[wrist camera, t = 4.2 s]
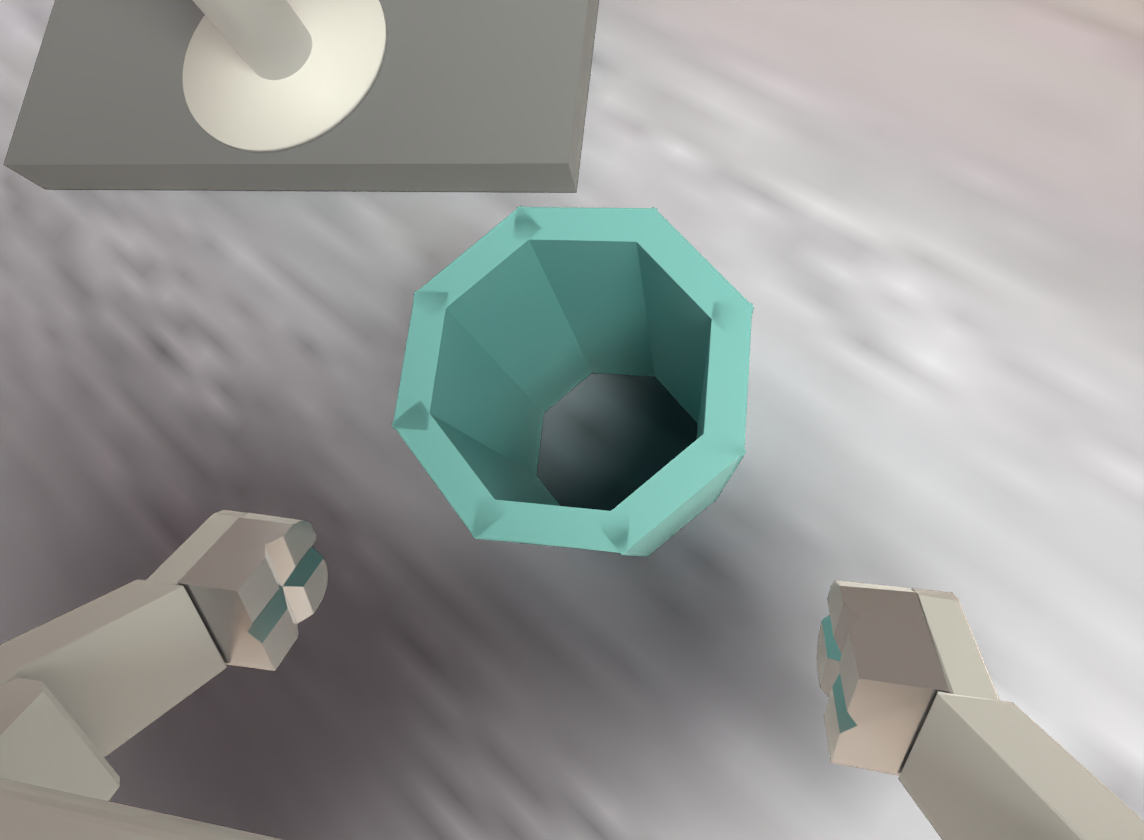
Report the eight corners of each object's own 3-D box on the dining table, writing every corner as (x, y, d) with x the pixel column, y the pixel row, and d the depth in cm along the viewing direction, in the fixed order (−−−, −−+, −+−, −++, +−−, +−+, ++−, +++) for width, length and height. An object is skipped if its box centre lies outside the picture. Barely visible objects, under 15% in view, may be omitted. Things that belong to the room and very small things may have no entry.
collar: (506, 540, 18) (374, 527, 10) (531, 348, 19) (427, 204, 11) (712, 563, 17) (740, 568, 9) (725, 359, 18) (759, 207, 10)
